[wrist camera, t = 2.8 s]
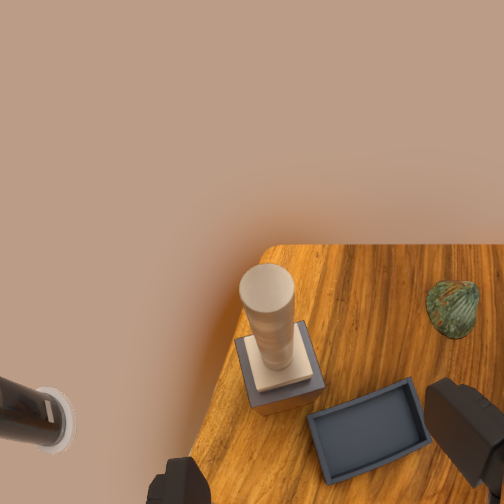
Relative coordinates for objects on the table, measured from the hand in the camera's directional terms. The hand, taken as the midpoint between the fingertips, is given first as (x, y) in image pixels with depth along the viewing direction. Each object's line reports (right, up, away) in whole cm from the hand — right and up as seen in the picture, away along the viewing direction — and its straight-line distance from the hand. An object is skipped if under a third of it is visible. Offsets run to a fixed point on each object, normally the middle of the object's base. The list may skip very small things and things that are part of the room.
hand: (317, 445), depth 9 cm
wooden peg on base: (0, -4, +20) cm, 20 cm away
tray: (+13, -17, +26) cm, 34 cm away
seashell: (+30, -3, +34) cm, 45 cm away
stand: (+2, -12, +31) cm, 33 cm away
